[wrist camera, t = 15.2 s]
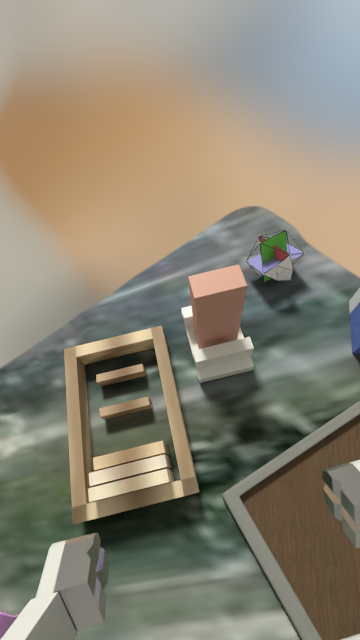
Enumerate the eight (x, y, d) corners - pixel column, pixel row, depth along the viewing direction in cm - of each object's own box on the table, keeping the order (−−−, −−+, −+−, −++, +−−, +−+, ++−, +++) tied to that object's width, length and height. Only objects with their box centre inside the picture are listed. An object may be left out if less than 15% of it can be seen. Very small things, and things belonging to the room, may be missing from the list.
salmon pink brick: (199, 350, 40) (194, 298, 29) (194, 333, 41) (188, 276, 30) (236, 341, 40) (247, 285, 29) (231, 324, 41) (238, 264, 30)
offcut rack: (83, 521, 34) (64, 527, 29) (73, 357, 43) (57, 343, 38) (199, 491, 34) (197, 493, 30) (164, 335, 43) (159, 318, 39)
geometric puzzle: (232, 247, 46) (256, 239, 39) (271, 228, 47) (302, 217, 40) (251, 290, 48) (278, 291, 40) (288, 271, 49) (321, 268, 41)
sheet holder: (199, 383, 40) (198, 372, 36) (182, 316, 44) (179, 300, 40) (252, 370, 40) (257, 357, 36) (229, 304, 44) (231, 287, 40)
